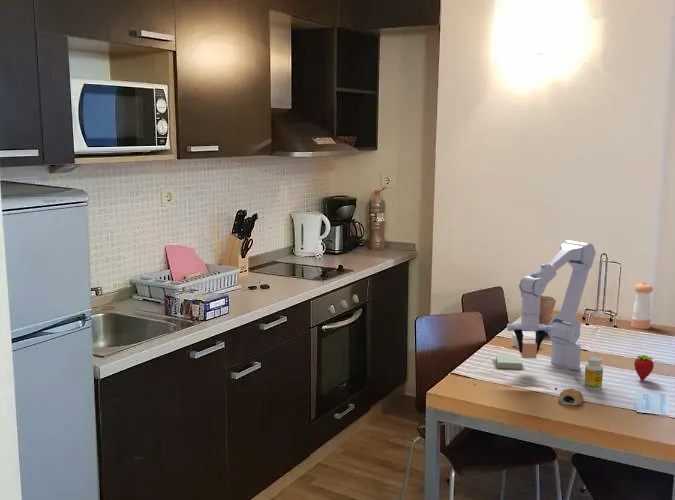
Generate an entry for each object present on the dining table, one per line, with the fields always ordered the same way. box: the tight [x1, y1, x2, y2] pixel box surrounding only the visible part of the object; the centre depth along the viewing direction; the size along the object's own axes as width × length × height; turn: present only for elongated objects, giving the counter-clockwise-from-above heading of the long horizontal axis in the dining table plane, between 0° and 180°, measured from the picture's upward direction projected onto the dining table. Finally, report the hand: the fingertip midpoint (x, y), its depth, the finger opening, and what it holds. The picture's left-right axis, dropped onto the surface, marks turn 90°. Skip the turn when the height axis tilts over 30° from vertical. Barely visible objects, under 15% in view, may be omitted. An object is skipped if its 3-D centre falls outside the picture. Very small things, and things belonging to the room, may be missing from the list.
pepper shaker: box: [630, 281, 654, 330], centre depth 292 cm, size 7×7×19 cm
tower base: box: [491, 359, 525, 371], centre depth 241 cm, size 10×10×2 cm
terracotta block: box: [519, 340, 538, 360], centre depth 232 cm, size 4×4×5 cm
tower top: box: [495, 354, 523, 369], centre depth 241 cm, size 8×8×2 cm
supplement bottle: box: [584, 356, 604, 391], centre depth 223 cm, size 5×5×10 cm
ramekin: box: [511, 331, 542, 349], centre depth 264 cm, size 11×11×5 cm
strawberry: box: [633, 354, 655, 381], centre depth 229 cm, size 6×8×10 cm
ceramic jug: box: [535, 294, 557, 335], centre depth 284 cm, size 18×14×14 cm
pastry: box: [558, 388, 584, 407], centre depth 212 cm, size 9×7×4 cm
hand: (528, 352), depth 232 cm, fingers closed on terracotta block, 4 cm apart
